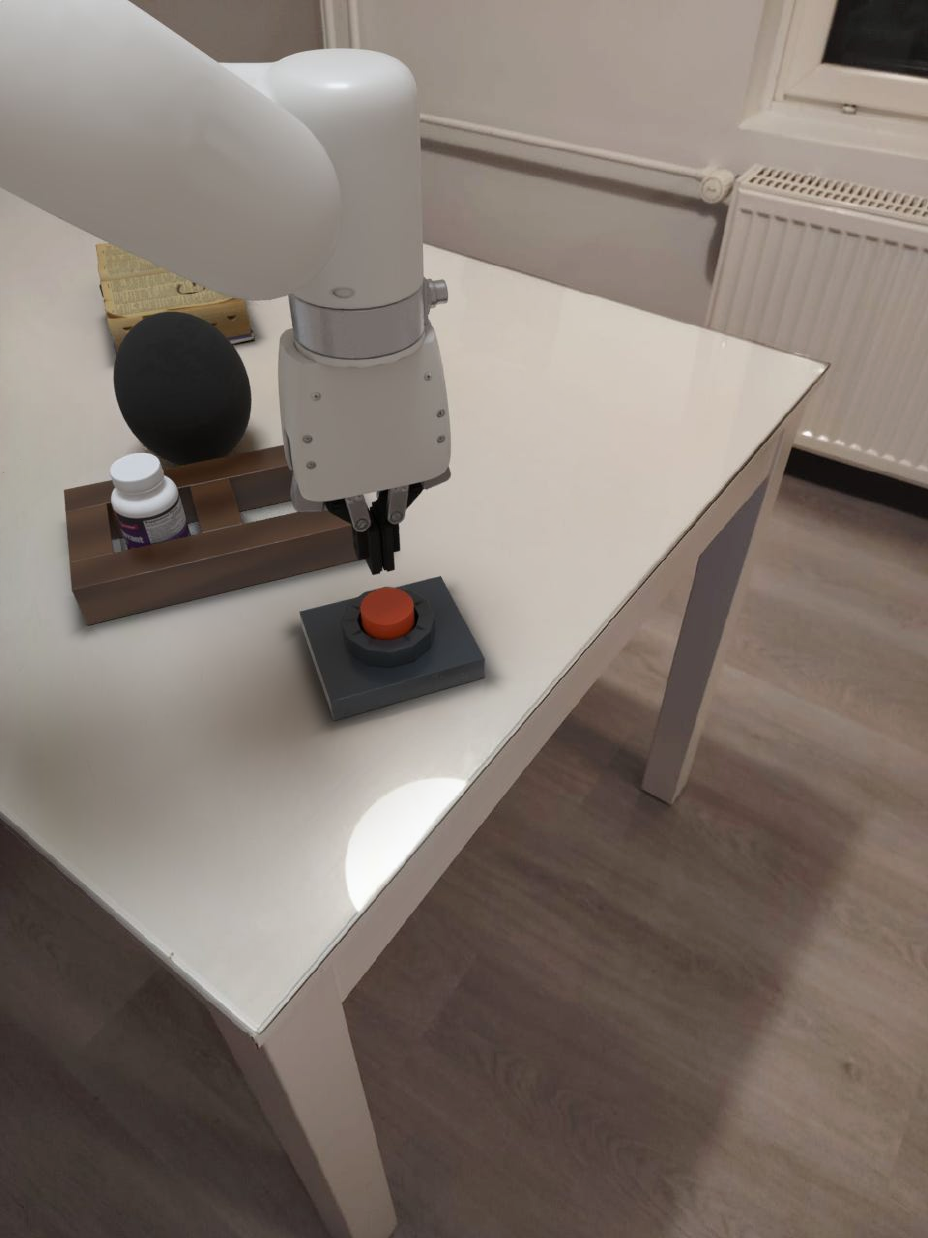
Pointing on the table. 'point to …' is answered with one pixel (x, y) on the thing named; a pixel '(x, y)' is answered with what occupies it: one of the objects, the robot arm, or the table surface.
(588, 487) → the table surface
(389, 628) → the button
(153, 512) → the pill bottle
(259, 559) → the dock
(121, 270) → the book
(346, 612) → the dark grey flat piece
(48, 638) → the table surface
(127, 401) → the decorative egg
